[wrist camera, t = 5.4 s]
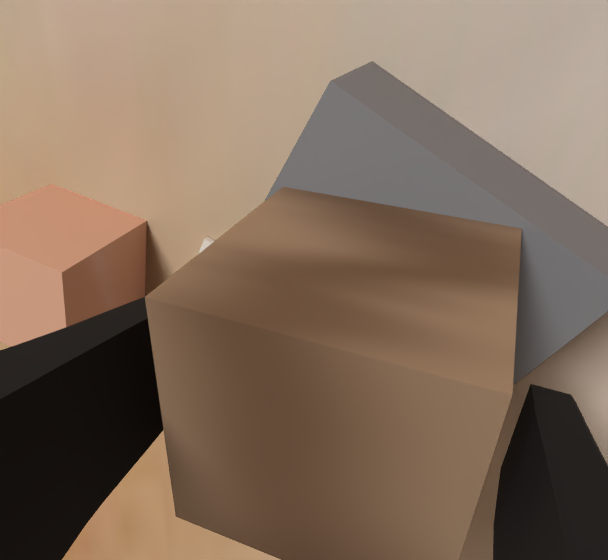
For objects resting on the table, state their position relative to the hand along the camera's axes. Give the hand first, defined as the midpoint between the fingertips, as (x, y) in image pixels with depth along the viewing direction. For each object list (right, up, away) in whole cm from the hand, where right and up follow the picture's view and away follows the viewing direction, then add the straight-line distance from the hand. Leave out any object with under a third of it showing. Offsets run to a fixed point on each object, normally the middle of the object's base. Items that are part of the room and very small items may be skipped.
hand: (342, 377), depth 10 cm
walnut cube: (+1, +1, +2) cm, 3 cm away
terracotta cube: (-8, +3, +10) cm, 13 cm away
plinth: (+2, +3, +5) cm, 6 cm away
